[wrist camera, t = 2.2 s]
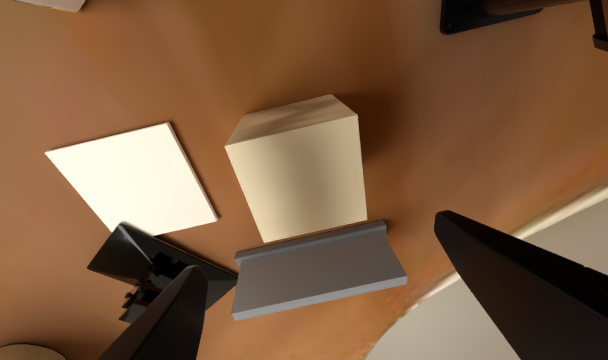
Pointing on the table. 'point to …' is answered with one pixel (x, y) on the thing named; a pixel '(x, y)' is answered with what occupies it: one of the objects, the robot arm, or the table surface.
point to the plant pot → (28, 353)
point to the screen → (315, 270)
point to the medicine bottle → (58, 4)
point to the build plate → (152, 268)
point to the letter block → (300, 167)
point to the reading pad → (137, 180)
